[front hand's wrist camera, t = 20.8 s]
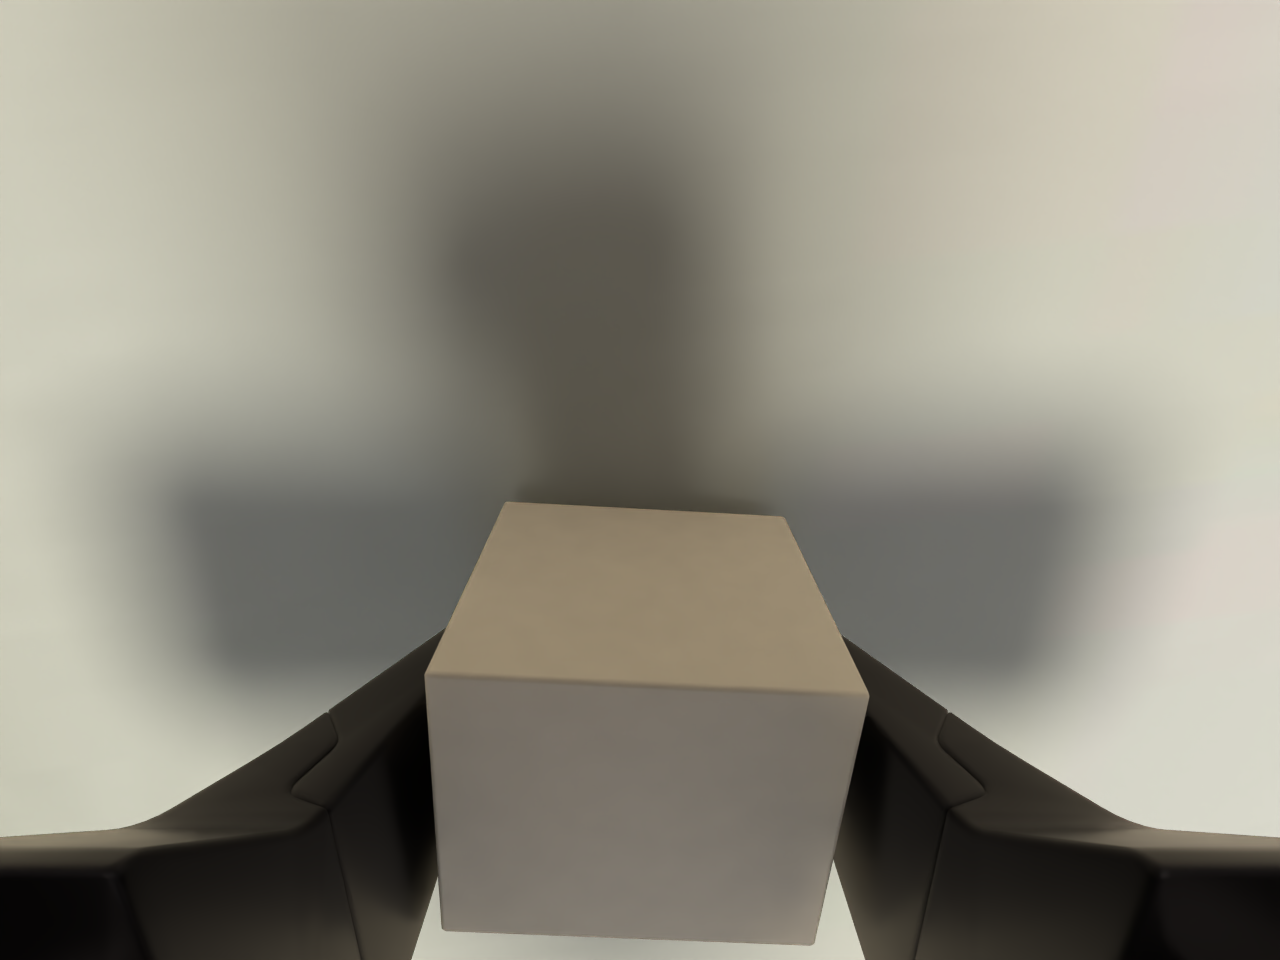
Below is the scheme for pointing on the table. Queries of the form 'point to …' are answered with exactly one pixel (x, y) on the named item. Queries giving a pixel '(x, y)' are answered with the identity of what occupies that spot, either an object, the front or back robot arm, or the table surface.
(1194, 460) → the table surface
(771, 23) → the table surface
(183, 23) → the table surface
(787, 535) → the beige cube block
